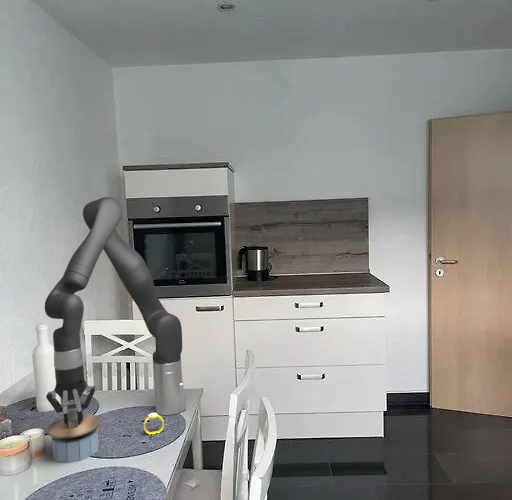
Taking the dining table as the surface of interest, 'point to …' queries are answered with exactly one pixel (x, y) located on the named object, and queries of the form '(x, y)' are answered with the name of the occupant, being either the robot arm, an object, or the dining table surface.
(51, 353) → the bottle
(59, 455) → the bowl
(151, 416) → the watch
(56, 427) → the lid
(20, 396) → the dining table surface
